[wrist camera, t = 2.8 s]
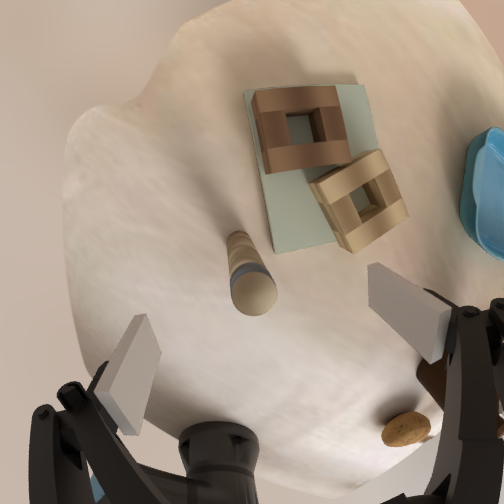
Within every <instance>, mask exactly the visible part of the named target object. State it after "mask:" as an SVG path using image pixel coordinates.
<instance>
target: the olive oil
mask: <svg viewBox="0 0 504 504" xmlns="http://www.w3.org/2000/svg"><path fill="white" fill-rule="evenodd" d="M448 354H449V351H448V350H447V349H446V348H444V351H443V355H442V358H441V359H439V360H437V361H436V362H434V363H432V364H429V363H428V362H427V361H426V360H425V359H423V360H422V362H421V363H420V365H419V367H418V370H417V379H418V380H419V382H420V383H421V384H422V385H423V386H424V388H425V389H426V390H427V391H428V392H429V393H430V395H431V396H432V397H433V399H434V400H435V401H436V402H437V404H438V405H439V406H440V407H441V409H442V410H443V411H444V407H445V397H446V383H447V369H446V370H444V369H445V365H446V361H447V358H448ZM495 394H496V412H497V437H498V438H501V437H502V436H503V435H504V419H503V418H502V417H501V416H500V415H499V396H498V393H497V391H496V388H495Z"/></svg>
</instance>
